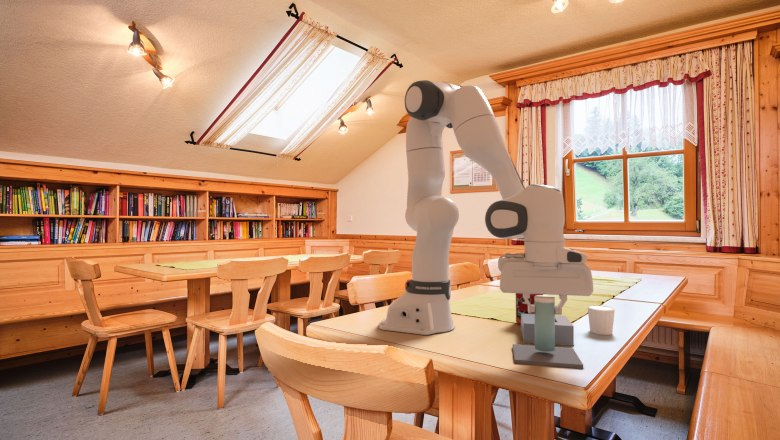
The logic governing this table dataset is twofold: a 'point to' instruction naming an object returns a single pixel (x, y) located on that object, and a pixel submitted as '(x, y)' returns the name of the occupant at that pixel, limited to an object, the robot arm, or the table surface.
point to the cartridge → (544, 323)
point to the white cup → (601, 319)
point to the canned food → (523, 305)
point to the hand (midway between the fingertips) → (544, 313)
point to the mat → (546, 356)
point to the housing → (562, 329)
